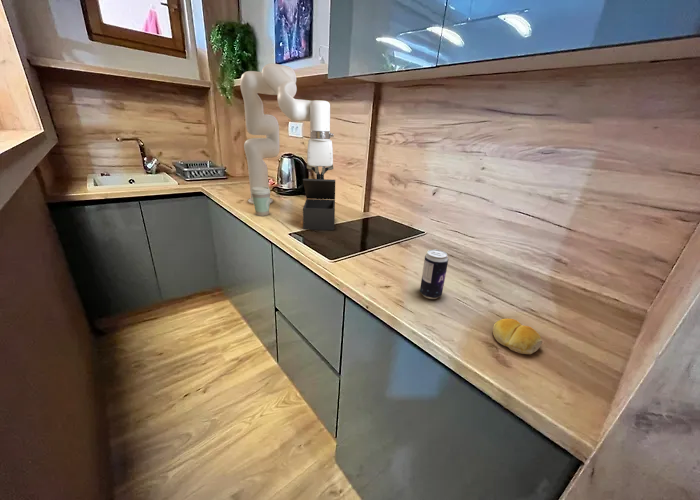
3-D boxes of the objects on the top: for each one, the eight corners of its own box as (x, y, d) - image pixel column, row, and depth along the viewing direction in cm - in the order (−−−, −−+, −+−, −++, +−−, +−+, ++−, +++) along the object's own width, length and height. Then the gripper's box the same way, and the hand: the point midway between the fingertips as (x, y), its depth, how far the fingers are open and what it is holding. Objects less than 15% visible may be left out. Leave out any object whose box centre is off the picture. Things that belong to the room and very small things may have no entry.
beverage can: (437, 303, 76) (445, 260, 72) (416, 296, 79) (422, 254, 74) (444, 293, 81) (451, 252, 76) (423, 287, 83) (429, 247, 79)
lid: (335, 181, 119) (335, 179, 119) (303, 180, 118) (303, 178, 118) (335, 199, 134) (335, 197, 134) (306, 198, 134) (306, 197, 134)
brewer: (334, 230, 124) (334, 209, 120) (303, 229, 123) (302, 208, 120) (334, 218, 138) (335, 199, 135) (306, 218, 137) (306, 198, 134)
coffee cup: (269, 217, 136) (267, 190, 131) (250, 216, 136) (247, 189, 131) (274, 211, 144) (272, 186, 139) (256, 211, 144) (254, 185, 139)
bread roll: (503, 323, 70) (507, 308, 68) (544, 345, 63) (550, 330, 61) (482, 335, 65) (487, 320, 64) (524, 361, 58) (530, 344, 57)
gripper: (339, 136, 121) (338, 182, 128) (301, 134, 120) (302, 181, 127) (339, 137, 114) (338, 186, 121) (299, 135, 113) (300, 185, 120)
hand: (320, 183), depth 124 cm, fingers closed
